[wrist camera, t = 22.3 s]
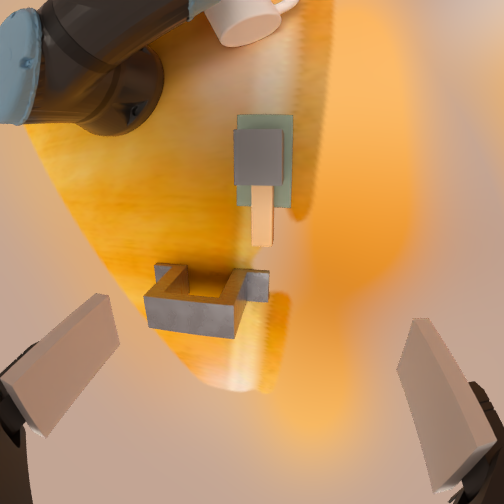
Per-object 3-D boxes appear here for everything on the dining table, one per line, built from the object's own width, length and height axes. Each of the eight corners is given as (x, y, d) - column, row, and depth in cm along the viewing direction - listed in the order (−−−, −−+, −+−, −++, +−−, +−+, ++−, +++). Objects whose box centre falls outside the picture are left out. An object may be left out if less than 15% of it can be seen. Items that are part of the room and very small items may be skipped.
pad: (237, 115, 35) (237, 114, 35) (292, 115, 34) (292, 115, 34) (237, 205, 39) (236, 205, 39) (290, 207, 38) (290, 207, 38)
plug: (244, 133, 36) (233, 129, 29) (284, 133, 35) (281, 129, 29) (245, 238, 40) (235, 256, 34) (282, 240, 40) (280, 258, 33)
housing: (156, 262, 44) (122, 293, 34) (269, 270, 42) (261, 307, 32) (160, 289, 45) (128, 324, 36) (268, 299, 43) (260, 341, 33)
